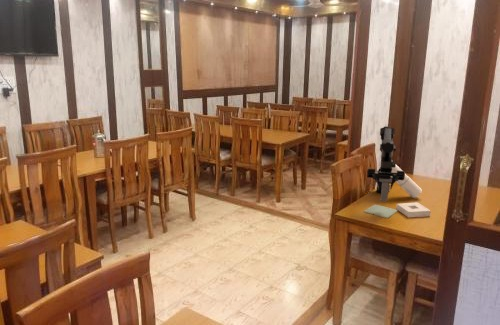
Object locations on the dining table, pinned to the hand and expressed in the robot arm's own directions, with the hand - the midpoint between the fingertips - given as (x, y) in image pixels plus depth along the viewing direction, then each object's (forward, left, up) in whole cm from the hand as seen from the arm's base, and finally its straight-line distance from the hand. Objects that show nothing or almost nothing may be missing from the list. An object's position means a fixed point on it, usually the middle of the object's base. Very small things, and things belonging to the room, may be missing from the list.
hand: (384, 188), depth 201 cm
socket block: (+12, +11, -13) cm, 21 cm away
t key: (-1, +1, -7) cm, 7 cm away
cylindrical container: (+5, +35, -11) cm, 37 cm away
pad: (-1, +1, -13) cm, 14 cm away
